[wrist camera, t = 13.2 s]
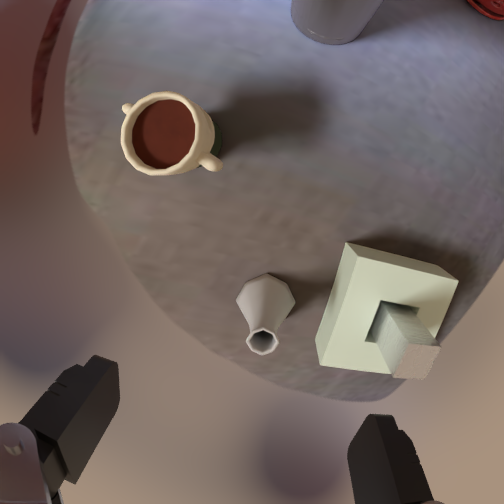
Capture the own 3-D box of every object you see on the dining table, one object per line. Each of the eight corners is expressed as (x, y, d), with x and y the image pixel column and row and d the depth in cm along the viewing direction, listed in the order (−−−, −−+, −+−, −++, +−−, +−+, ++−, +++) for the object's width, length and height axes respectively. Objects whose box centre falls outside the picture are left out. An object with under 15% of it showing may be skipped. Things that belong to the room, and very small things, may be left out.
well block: (345, 241, 37) (357, 256, 32) (437, 265, 37) (458, 280, 32) (314, 339, 41) (320, 364, 36) (401, 352, 41) (415, 376, 36)
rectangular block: (370, 286, 39) (408, 343, 25) (396, 291, 39) (441, 346, 25) (361, 313, 40) (392, 377, 27) (386, 317, 40) (424, 379, 27)
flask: (305, 301, 40) (313, 343, 30) (264, 334, 42) (261, 380, 32) (267, 262, 39) (264, 295, 29) (226, 298, 41) (212, 339, 31)
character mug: (252, 142, 35) (240, 132, 23) (216, 191, 37) (187, 207, 24) (178, 94, 34) (134, 66, 21) (146, 142, 36) (90, 137, 23)
